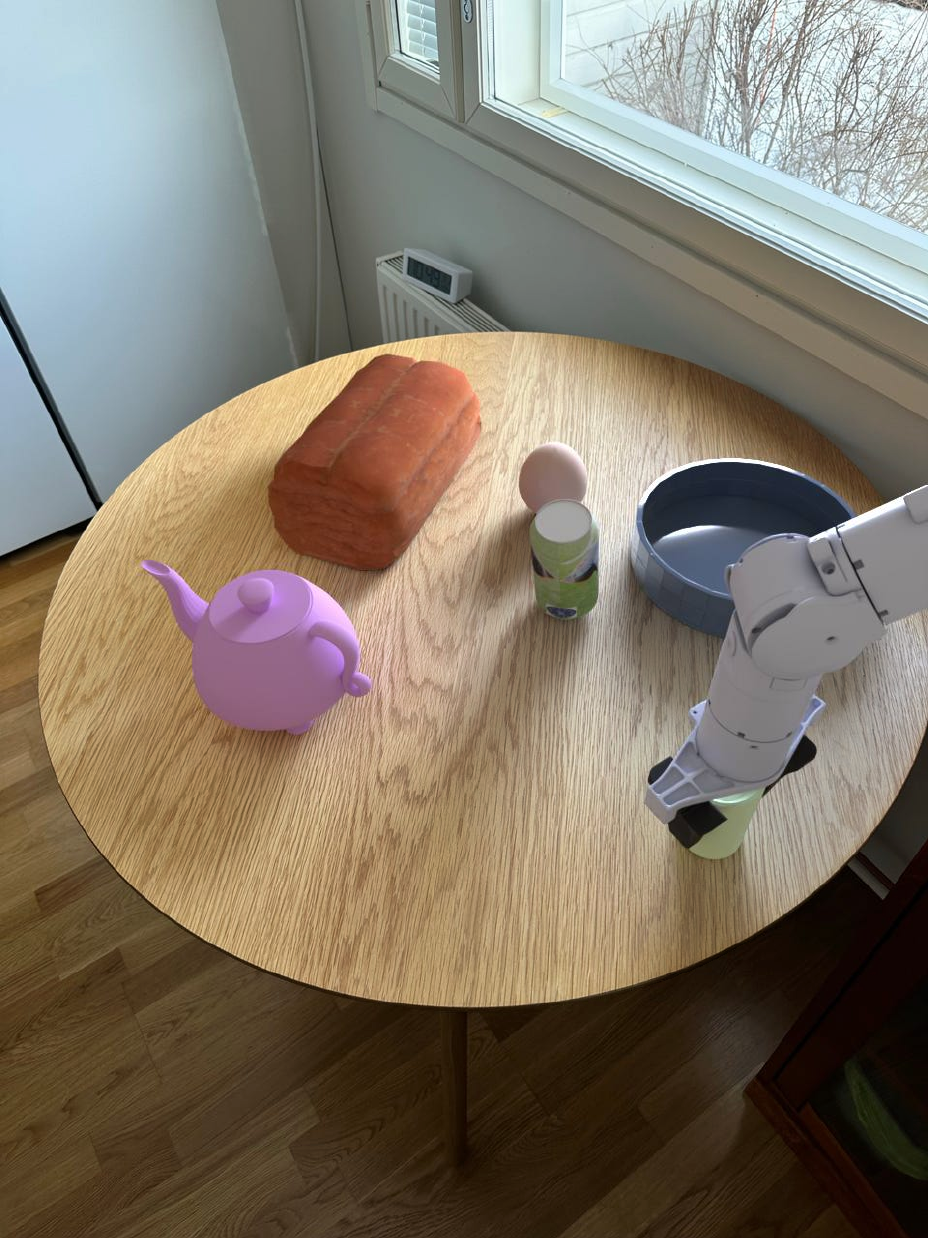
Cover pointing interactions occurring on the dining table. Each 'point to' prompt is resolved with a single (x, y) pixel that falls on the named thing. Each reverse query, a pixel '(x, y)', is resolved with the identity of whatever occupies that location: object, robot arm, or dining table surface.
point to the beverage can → (565, 559)
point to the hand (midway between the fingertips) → (714, 814)
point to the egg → (552, 476)
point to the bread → (375, 462)
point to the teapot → (267, 648)
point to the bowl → (719, 530)
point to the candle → (729, 825)
